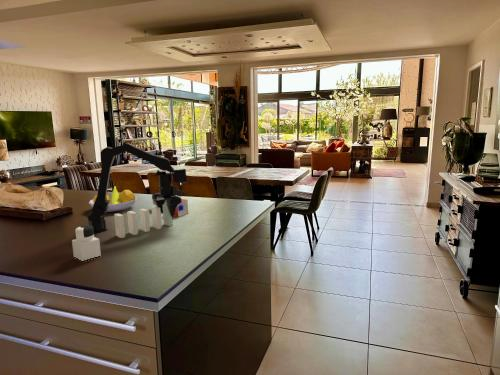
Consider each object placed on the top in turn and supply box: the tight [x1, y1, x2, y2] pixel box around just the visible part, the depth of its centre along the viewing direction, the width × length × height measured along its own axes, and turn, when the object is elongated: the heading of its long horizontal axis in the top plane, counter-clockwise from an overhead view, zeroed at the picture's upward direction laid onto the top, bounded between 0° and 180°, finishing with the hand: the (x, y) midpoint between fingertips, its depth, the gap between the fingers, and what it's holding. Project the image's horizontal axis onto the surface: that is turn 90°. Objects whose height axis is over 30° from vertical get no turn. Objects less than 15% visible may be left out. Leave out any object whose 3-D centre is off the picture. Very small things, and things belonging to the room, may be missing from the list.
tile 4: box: [150, 205, 163, 230], centre depth 164 cm, size 2×5×10 cm, turn 44°
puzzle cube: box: [173, 198, 189, 218], centre depth 188 cm, size 8×8×8 cm
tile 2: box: [126, 210, 139, 236], centre depth 156 cm, size 2×5×10 cm, turn 44°
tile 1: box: [113, 213, 126, 239], centre depth 152 cm, size 2×5×10 cm, turn 44°
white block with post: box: [71, 224, 102, 262], centre depth 128 cm, size 7×7×12 cm
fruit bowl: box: [88, 185, 137, 213], centre depth 203 cm, size 28×27×11 cm
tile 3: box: [139, 208, 151, 233], centre depth 160 cm, size 2×5×10 cm, turn 44°
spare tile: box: [162, 204, 173, 227], centre depth 168 cm, size 2×5×10 cm, turn 43°
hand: (167, 215), depth 168 cm, fingers open, 9 cm apart
